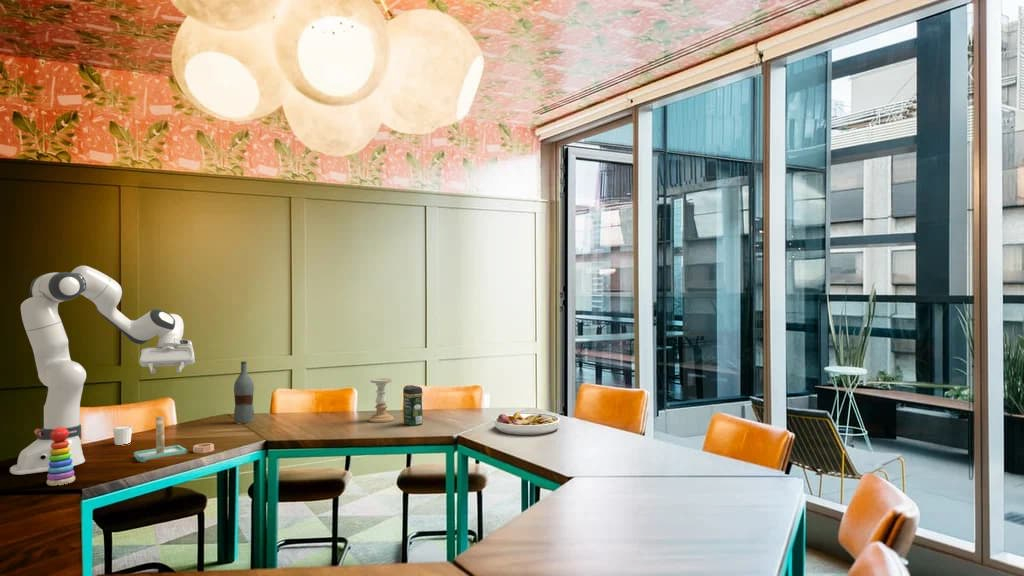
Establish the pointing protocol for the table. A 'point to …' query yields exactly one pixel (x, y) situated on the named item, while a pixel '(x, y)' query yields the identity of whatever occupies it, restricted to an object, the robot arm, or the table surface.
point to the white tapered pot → (122, 435)
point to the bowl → (527, 423)
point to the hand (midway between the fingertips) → (165, 372)
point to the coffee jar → (412, 405)
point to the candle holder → (381, 402)
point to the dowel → (160, 435)
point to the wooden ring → (203, 448)
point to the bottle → (243, 397)
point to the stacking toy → (60, 459)
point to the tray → (151, 454)
